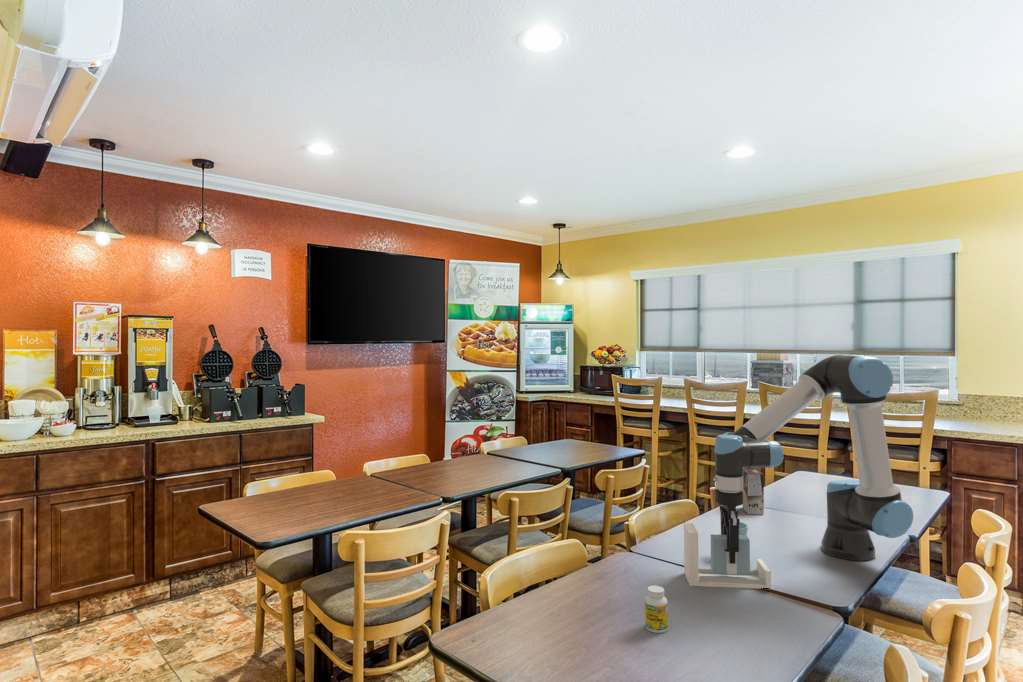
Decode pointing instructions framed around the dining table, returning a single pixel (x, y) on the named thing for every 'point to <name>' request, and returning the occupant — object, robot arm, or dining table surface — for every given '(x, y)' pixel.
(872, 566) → the dining table surface
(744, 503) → the coffee box
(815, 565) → the dining table surface
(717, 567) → the door panel
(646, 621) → the supplement bottle
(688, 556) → the track board
